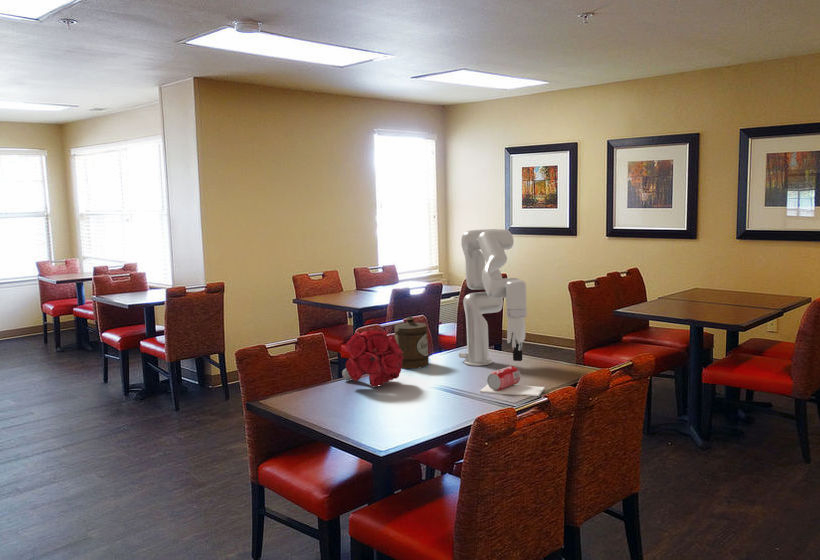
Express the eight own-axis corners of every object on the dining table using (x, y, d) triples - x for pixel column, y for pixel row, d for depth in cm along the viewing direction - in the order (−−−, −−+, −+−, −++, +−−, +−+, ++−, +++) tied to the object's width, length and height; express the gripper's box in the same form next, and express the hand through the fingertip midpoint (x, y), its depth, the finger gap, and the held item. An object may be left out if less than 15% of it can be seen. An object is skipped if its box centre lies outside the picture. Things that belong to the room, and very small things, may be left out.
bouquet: (335, 404, 263) (382, 376, 245) (316, 350, 270) (360, 319, 252) (374, 395, 279) (420, 368, 261) (355, 344, 286) (399, 315, 268)
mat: (480, 392, 248) (480, 390, 248) (488, 384, 258) (488, 383, 258) (538, 396, 239) (538, 394, 239) (544, 388, 249) (544, 387, 249)
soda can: (517, 362, 254) (496, 369, 245) (524, 380, 252) (504, 387, 243) (504, 368, 259) (483, 375, 250) (511, 386, 257) (490, 393, 248)
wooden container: (428, 368, 289) (426, 318, 287) (394, 369, 290) (392, 320, 287) (428, 360, 304) (426, 313, 302) (396, 361, 304) (394, 314, 302)
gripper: (512, 309, 258) (513, 355, 260) (501, 315, 244) (502, 364, 246) (531, 310, 255) (532, 356, 257) (521, 316, 241) (522, 365, 243)
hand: (517, 360), depth 252 cm, fingers closed
